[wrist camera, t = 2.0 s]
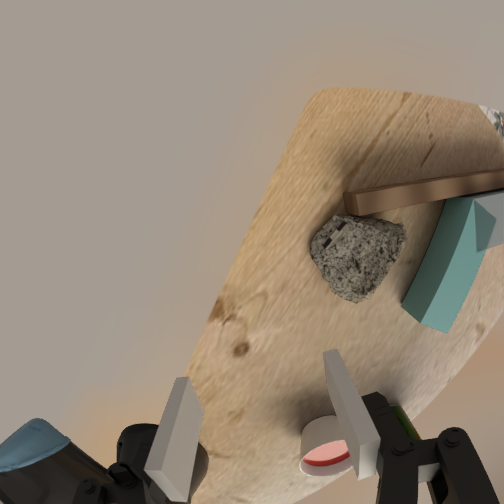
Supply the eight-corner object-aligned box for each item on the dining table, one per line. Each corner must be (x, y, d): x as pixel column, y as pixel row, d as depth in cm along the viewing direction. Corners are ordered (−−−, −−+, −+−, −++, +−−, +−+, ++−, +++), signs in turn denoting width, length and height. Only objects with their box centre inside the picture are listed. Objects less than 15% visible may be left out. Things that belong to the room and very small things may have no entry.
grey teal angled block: (400, 326, 32) (419, 345, 27) (392, 207, 29) (415, 211, 24) (507, 282, 31) (527, 292, 26) (506, 185, 28) (530, 187, 23)
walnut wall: (346, 212, 29) (359, 215, 26) (342, 193, 29) (355, 194, 25) (508, 181, 28) (526, 183, 24) (506, 168, 28) (525, 168, 24)
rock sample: (326, 185, 25) (397, 251, 21) (365, 188, 30) (424, 240, 25) (281, 267, 31) (332, 329, 27) (323, 256, 36) (370, 306, 32)
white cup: (284, 444, 37) (288, 474, 31) (310, 405, 35) (318, 437, 29) (335, 449, 37) (344, 477, 31) (363, 412, 36) (376, 441, 29)
